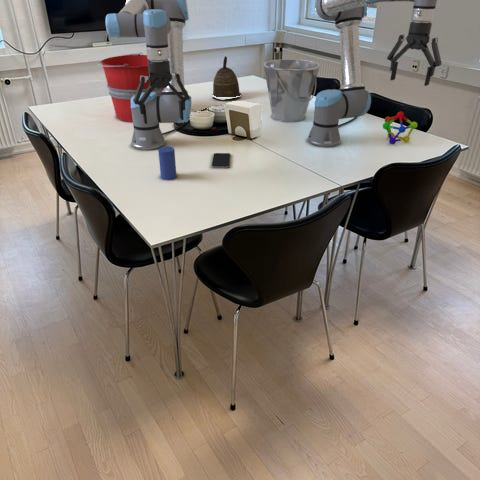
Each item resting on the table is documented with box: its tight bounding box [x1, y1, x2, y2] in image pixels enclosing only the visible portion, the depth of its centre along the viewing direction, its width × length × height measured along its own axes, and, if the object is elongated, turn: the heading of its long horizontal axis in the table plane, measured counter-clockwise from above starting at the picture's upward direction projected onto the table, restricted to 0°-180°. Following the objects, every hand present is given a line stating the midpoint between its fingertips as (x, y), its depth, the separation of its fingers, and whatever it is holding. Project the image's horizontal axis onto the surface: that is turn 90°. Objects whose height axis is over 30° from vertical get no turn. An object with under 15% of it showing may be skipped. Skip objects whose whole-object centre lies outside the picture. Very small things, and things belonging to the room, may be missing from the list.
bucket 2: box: [263, 58, 321, 123], centre depth 238 cm, size 30×30×28 cm
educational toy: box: [382, 110, 418, 145], centre depth 207 cm, size 16×13×15 cm
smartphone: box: [211, 152, 231, 169], centre depth 190 cm, size 7×1×15 cm
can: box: [157, 146, 177, 181], centre depth 173 cm, size 6×6×12 cm
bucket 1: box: [97, 52, 164, 123], centre depth 239 cm, size 35×35×30 cm
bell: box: [212, 56, 242, 97], centre depth 278 cm, size 19×26×20 cm
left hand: (163, 120), depth 164 cm, fingers open, 13 cm apart
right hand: (409, 82), depth 171 cm, fingers open, 13 cm apart
